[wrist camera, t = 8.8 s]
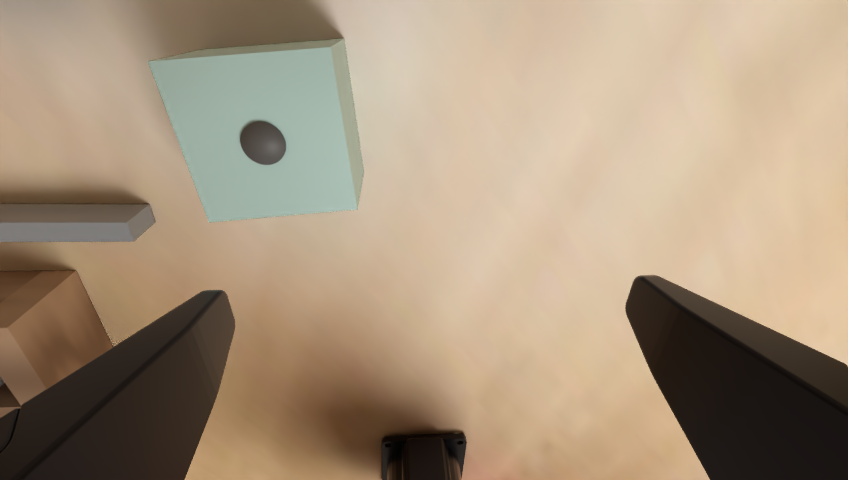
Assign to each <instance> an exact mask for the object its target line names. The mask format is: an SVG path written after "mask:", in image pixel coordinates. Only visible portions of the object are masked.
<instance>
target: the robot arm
mask: <svg viewBox="0 0 848 480" xmlns="http://www.w3.org/2000/svg"><path fill="white" fill-rule="evenodd" d="M626 314H627V317H628V319H629V322H630V324H631V326H632V329H633V331H634V334H635V336H636V338H637V341H638V343H639V345H640V348H641V350H642V352H643V355H644V357H645V359H646V362H647V364H648V366H649V368H650V371H651V373H652V375H653V377H654V379H655V381H656V383H657V384H658V386H659V388H660V390H661V392H662V393H663V395H664V397H665V399H666V401H667V403H668V404H669V406H670V408H671V410H672V412H673V413H674V415H675V417H676V419H677V421H678V422H679V424H680V426H681V428H682V430H683V431H684V433H685V435H686V437H687V439H688V440H689V442H690V444H691V446H692V448H693V449H694V451H695V453H696V455H697V457H698V459H699V460H700V462H701V464H702V466H703V468H704V469H705V471H706V473H707V475H708V477H709V478H710V480H848V366H847V365H846V364H844V363H842V362H840V361H838V360H836V359H834V358H832V357H829V356H827V355H825V354H823V353H821V352H819V351H817V350H815V349H812V348H810V347H808V346H806V345H804V344H802V343H800V342H798V341H795V340H793V339H791V338H789V337H787V336H785V335H783V334H780V333H778V332H776V331H774V330H772V329H770V328H768V327H766V326H763V325H761V324H759V323H757V322H755V321H753V320H751V319H749V318H746V317H744V316H742V315H740V314H738V313H736V312H734V311H731V310H729V309H727V308H725V307H723V306H721V305H719V304H717V303H714V302H712V301H710V300H708V299H706V298H704V297H702V296H700V295H697V294H695V293H693V292H691V291H689V290H687V289H685V288H682V287H680V286H678V285H676V284H674V283H672V282H670V281H668V280H665V279H663V278H661V277H659V276H656V275H643V276H638V277H636V278H635V279H634V281H633V284H632V287H631V290H630V293H629V296H628V299H627V302H626ZM234 330H235V319H234V316H233V312H232V309H231V306H230V303H229V299H228V296H227V294H226V293H225V292H224V291H223V290H205V291H202V292H200V293H199V294H197V295H195V296H194V297H192V298H191V299H189V300H187V301H186V302H184V303H183V304H181V305H179V306H178V307H176V308H175V309H173V310H172V311H170V312H168V313H167V314H165V315H164V316H162V317H160V318H159V319H157V320H156V321H154V322H152V323H151V324H149V325H148V326H146V327H144V328H143V329H141V330H140V331H138V332H136V333H135V334H133V335H132V336H130V337H129V338H127V339H125V340H124V341H122V342H121V343H119V344H117V345H116V346H114V347H113V348H111V349H109V350H108V351H106V352H105V353H103V354H101V355H100V356H98V357H97V358H95V359H93V360H92V361H90V362H89V363H87V364H86V365H84V366H82V367H81V368H79V369H78V370H76V371H74V372H73V373H71V374H70V375H68V376H66V377H65V378H63V379H62V380H60V381H58V382H57V383H55V384H54V385H52V386H50V387H49V388H47V389H46V390H44V391H42V392H41V393H39V394H38V395H36V396H35V397H33V398H31V399H30V400H28V401H27V402H25V403H23V404H22V405H21V407H20V408H15V409H14V410H12V411H10V412H9V413H7V414H6V415H4V416H3V417H1V418H0V480H184V479H185V477H186V474H187V472H188V469H189V467H190V464H191V461H192V459H193V456H194V454H195V451H196V449H197V446H198V444H199V441H200V438H201V436H202V433H203V431H204V428H205V426H206V423H207V421H208V418H209V415H210V413H211V410H212V408H213V405H214V402H215V400H216V397H217V394H218V390H219V387H220V384H221V380H222V376H223V372H224V368H225V365H226V361H227V357H228V353H229V349H230V346H231V342H232V338H233V334H234ZM466 443H467V442H466V436H465V435H464V434H441V435H415V436H389V437H384V438H383V439H382V445H381V447H382V479H383V480H461V478H462V471H463V464H464V457H465V450H466Z"/></svg>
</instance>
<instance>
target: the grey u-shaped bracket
mask: <svg viewBox="0 0 848 480" xmlns="http://www.w3.org/2000/svg"><path fill="white" fill-rule="evenodd" d="M154 223H155V219H154V216H153V213H152V210H151V207H150V204H0V242H119V241H135V240H136V239H137V238H138V237H139V236H140V235H142V234H143V233H144V232H145V231H146V230H147V229H148V228H149V227H150V226H151V225H153V224H154Z"/></svg>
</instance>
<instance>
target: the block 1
mask: <svg viewBox="0 0 848 480" xmlns="http://www.w3.org/2000/svg"><path fill="white" fill-rule="evenodd" d="M111 348H113V346H112V344H111V342H110V340H109V338H108V336H107V334H106V332H105V330H104V328H103V326H102V323H101V321H100V319H99V317H98V315H97V313H96V311H95V309H94V307H93V305H92V303H91V301H90V299H89V296H88V294H87V292H86V290H85V288H84V286H83V284H82V282H81V280H80V278H79V276H78V274H77V272H76V271H0V377H1V378H2V379H3V381H4V382H5V383H4V384H3V385H2V386H1V387H0V418H1V417H3V416H4V415H6V414H7V413H9V412H10V411H12V410H14V409H15V408H20V407H21V405H22V404H23V403H25V402H27V401H28V400H30V399H31V398H33V397H35V396H36V395H38V394H39V393H41V392H42V391H44V390H46V389H47V388H49V387H50V386H52V385H54V384H55V383H57V382H58V381H60V380H62V379H63V378H65V377H66V376H68V375H70V374H71V373H73V372H74V371H76V370H78V369H79V368H81V367H82V366H84V365H86V364H87V363H89V362H90V361H92V360H93V359H95V358H97V357H98V356H100V355H101V354H103V353H105V352H106V351H108V350H109V349H111Z"/></svg>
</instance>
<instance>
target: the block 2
mask: <svg viewBox="0 0 848 480" xmlns="http://www.w3.org/2000/svg"><path fill="white" fill-rule="evenodd" d="M148 63H149V66H150V68H151V71H152V74H153V76H154V79H155V82H156V84H157V87H158V89H159V92H160V95H161V97H162V100H163V103H164V105H165V108H166V110H167V113H168V116H169V118H170V121H171V124H172V126H173V129H174V132H175V134H176V137H177V139H178V142H179V145H180V147H181V150H182V153H183V155H184V158H185V161H186V163H187V166H188V168H189V171H190V174H191V176H192V179H193V182H194V184H195V187H196V189H197V192H198V195H199V197H200V200H201V203H202V205H203V208H204V211H205V213H206V216H207V218H208V221H209V222H220V221H232V220H243V219H254V218H266V217H277V216H288V215H300V214H311V213H322V212H334V211H345V210H357V209H358V203H359V198H360V192H361V187H362V181H363V175H364V167H363V161H362V154H361V147H360V141H359V134H358V127H357V120H356V114H355V107H354V100H353V94H352V87H351V80H350V73H349V67H348V60H347V53H346V47H345V40H344V38H342V39H329V40H317V41H304V42H291V43H278V44H265V45H252V46H240V47H227V48H214V49H202V50H197V51H193V52H188V53H184V54H179V55H175V56H170V57H166V58H161V59H157V60H152V61H148Z"/></svg>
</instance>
